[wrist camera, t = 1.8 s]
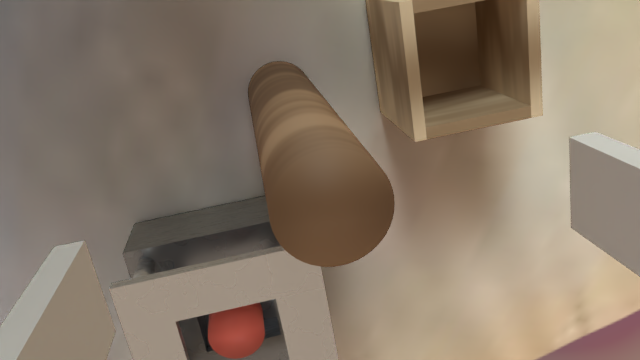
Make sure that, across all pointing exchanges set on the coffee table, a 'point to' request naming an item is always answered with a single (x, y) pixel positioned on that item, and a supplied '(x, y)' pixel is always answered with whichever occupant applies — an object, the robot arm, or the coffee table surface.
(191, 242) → the grey button box
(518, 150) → the coffee table surface
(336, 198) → the brown wooden rod
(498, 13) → the pen cup
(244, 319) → the breaker button
